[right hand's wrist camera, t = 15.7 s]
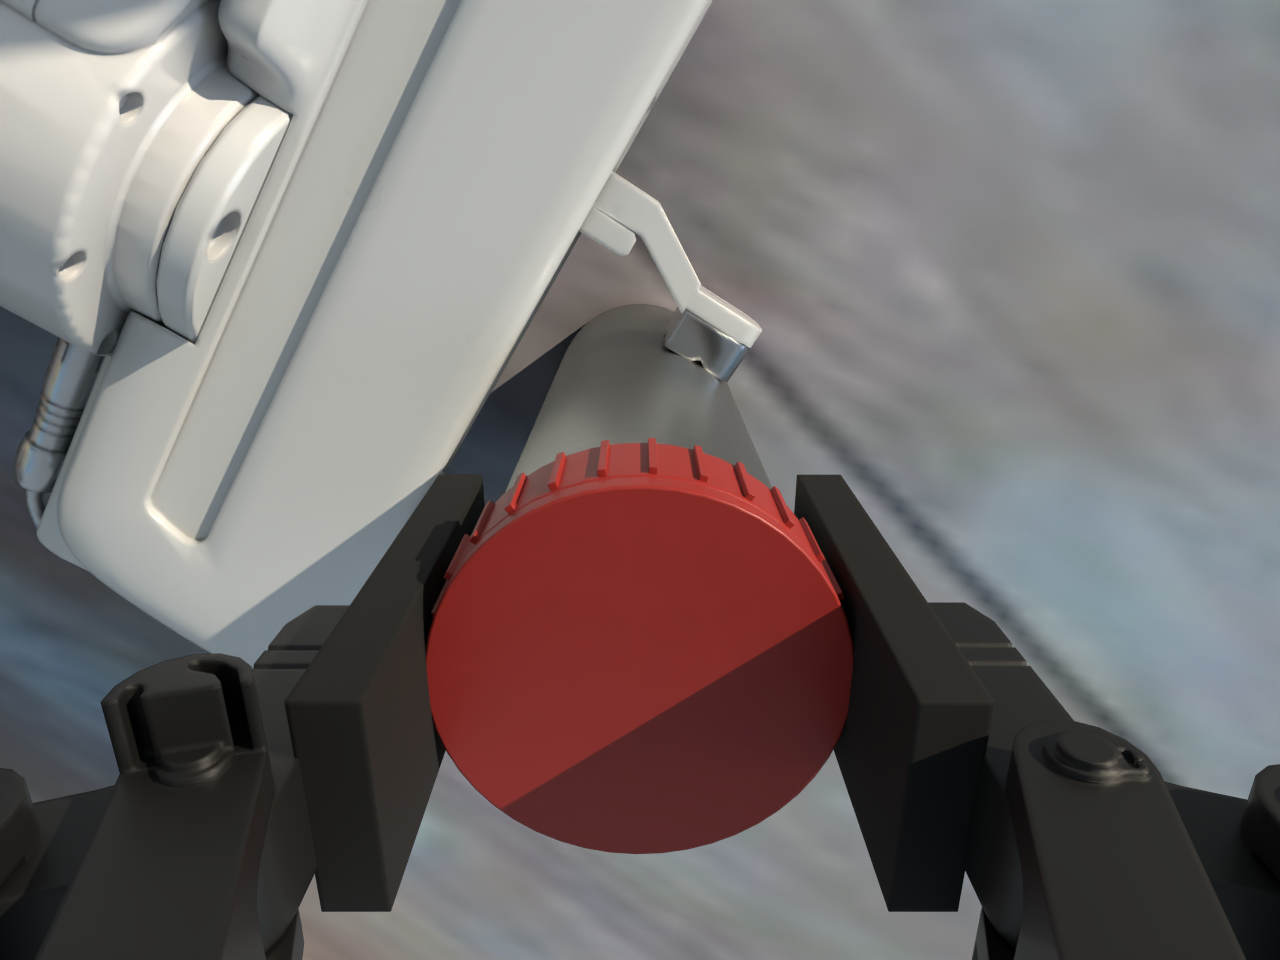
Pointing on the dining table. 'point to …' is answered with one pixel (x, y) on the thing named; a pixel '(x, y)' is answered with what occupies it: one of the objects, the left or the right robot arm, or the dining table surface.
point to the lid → (639, 650)
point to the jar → (635, 396)
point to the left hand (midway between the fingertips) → (670, 460)
